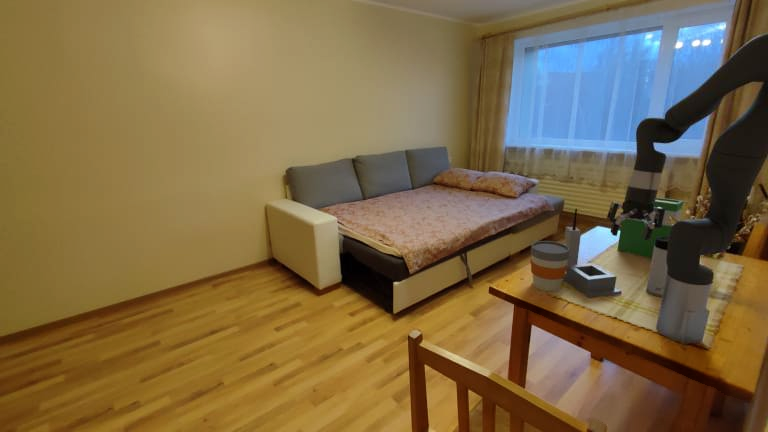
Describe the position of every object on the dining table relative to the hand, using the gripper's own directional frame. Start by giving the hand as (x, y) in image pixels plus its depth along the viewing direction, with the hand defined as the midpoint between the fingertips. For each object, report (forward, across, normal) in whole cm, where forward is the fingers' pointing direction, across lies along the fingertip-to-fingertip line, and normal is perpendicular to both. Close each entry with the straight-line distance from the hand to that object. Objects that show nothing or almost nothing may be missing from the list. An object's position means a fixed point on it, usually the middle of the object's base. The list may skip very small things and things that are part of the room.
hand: (629, 237), depth 110 cm
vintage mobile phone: (+22, -7, +24) cm, 33 cm away
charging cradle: (+22, -4, +10) cm, 25 cm away
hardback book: (+17, +26, +44) cm, 54 cm away
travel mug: (+20, +16, +8) cm, 27 cm away
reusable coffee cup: (+24, -18, +8) cm, 31 cm away
